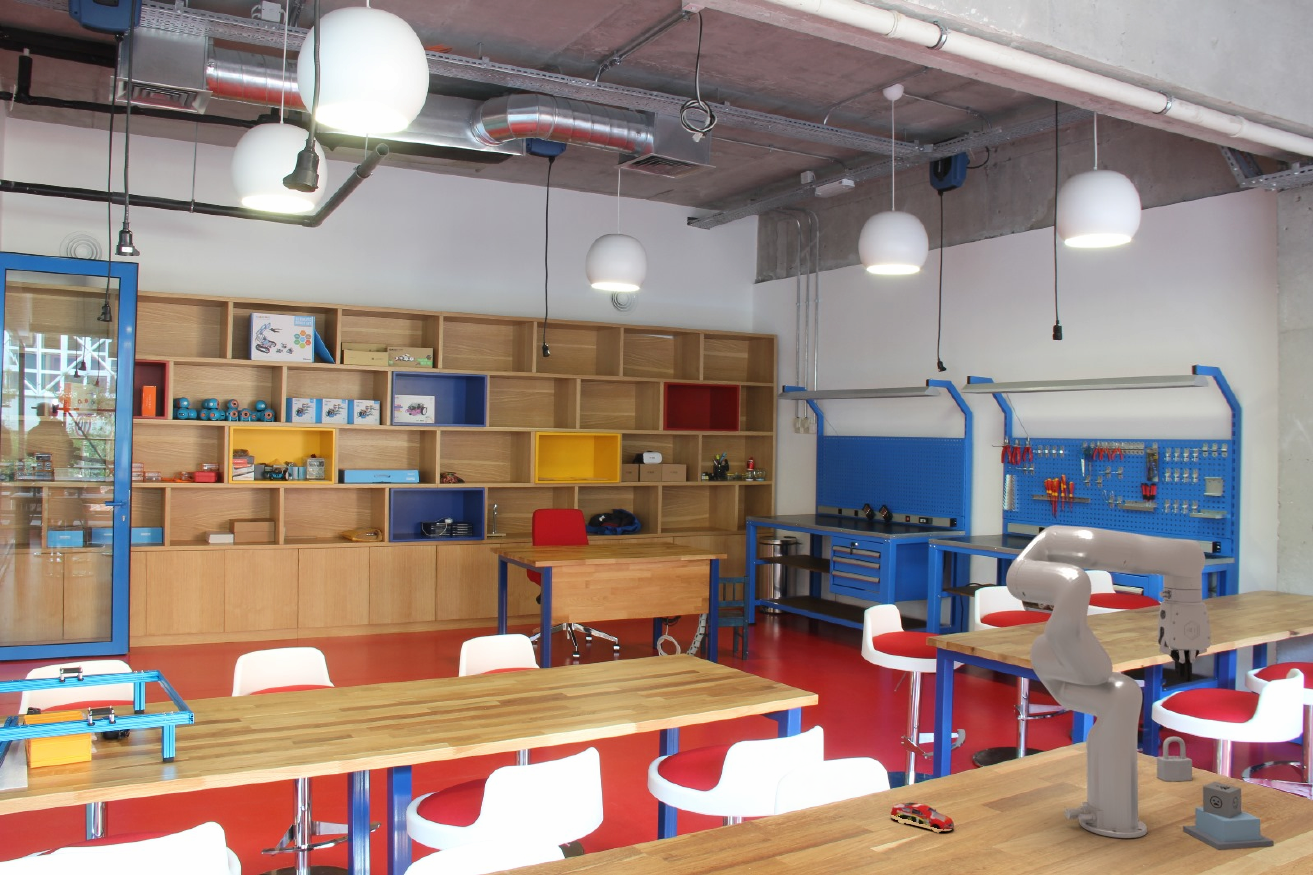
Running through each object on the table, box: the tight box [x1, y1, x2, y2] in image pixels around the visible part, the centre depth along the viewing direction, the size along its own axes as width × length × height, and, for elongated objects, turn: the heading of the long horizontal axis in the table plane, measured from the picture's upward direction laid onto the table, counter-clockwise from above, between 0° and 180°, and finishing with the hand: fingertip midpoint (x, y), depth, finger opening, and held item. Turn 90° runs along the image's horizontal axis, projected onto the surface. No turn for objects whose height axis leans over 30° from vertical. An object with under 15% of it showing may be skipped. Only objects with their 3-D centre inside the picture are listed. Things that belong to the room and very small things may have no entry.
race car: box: [890, 802, 955, 830], centre depth 208 cm, size 13×5×4 cm, turn 47°
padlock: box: [1156, 736, 1193, 782], centre depth 239 cm, size 7×4×10 cm, turn 95°
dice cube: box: [1202, 781, 1242, 819], centre depth 201 cm, size 5×5×5 cm
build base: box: [1182, 806, 1275, 851], centre depth 201 cm, size 12×10×5 cm
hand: (1183, 680), depth 221 cm, fingers closed
